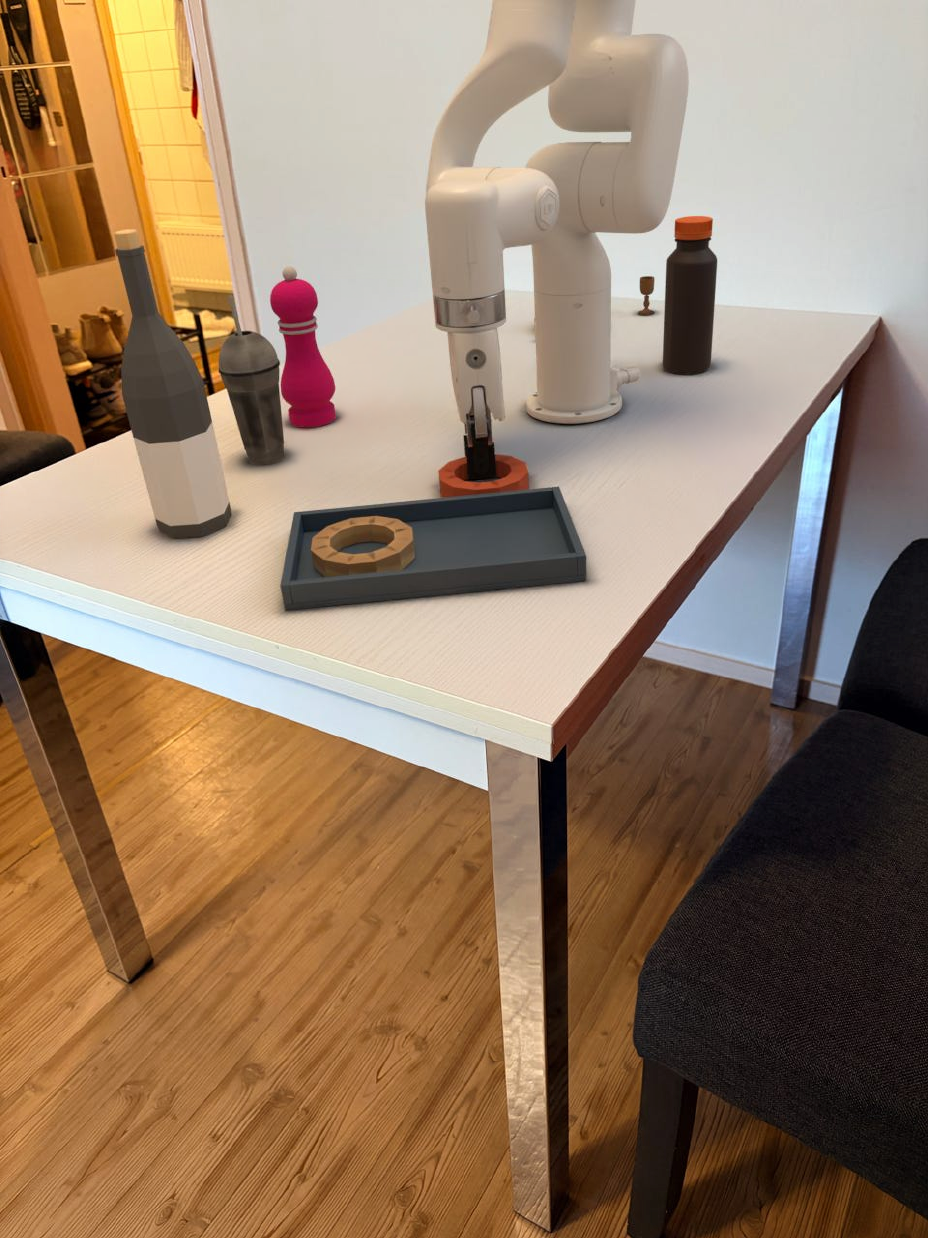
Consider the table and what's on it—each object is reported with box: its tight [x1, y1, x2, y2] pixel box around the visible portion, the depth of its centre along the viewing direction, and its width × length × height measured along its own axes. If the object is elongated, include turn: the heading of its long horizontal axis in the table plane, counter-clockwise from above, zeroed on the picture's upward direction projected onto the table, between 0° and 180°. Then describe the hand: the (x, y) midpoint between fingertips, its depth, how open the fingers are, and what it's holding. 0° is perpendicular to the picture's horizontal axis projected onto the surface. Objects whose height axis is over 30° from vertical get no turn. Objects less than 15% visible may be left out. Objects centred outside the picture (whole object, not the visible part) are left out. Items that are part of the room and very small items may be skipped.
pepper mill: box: [269, 265, 337, 429], centre depth 125 cm, size 7×7×20 cm
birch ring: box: [311, 516, 415, 577], centre depth 93 cm, size 10×10×2 cm
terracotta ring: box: [437, 453, 530, 498], centre depth 106 cm, size 10×10×2 cm
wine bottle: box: [113, 228, 232, 540], centre depth 97 cm, size 8×8×30 cm
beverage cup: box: [218, 294, 286, 466], centre depth 114 cm, size 7×7×20 cm
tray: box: [280, 486, 587, 611], centre depth 93 cm, size 28×16×3 cm, turn 94°
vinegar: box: [662, 215, 718, 375], centre depth 132 cm, size 7×7×20 cm
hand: (480, 470), depth 110 cm, fingers closed on terracotta ring, 2 cm apart
